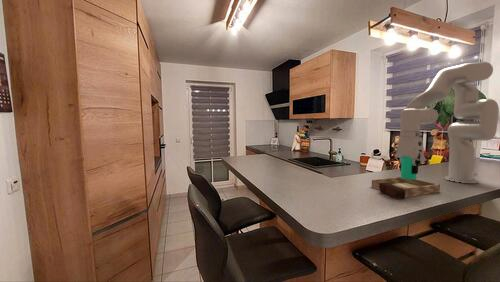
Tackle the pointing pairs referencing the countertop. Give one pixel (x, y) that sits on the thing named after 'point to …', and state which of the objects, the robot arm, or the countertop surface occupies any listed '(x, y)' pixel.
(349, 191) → the countertop surface
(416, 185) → the tray
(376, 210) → the countertop surface
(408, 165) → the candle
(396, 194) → the brick
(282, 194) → the countertop surface
